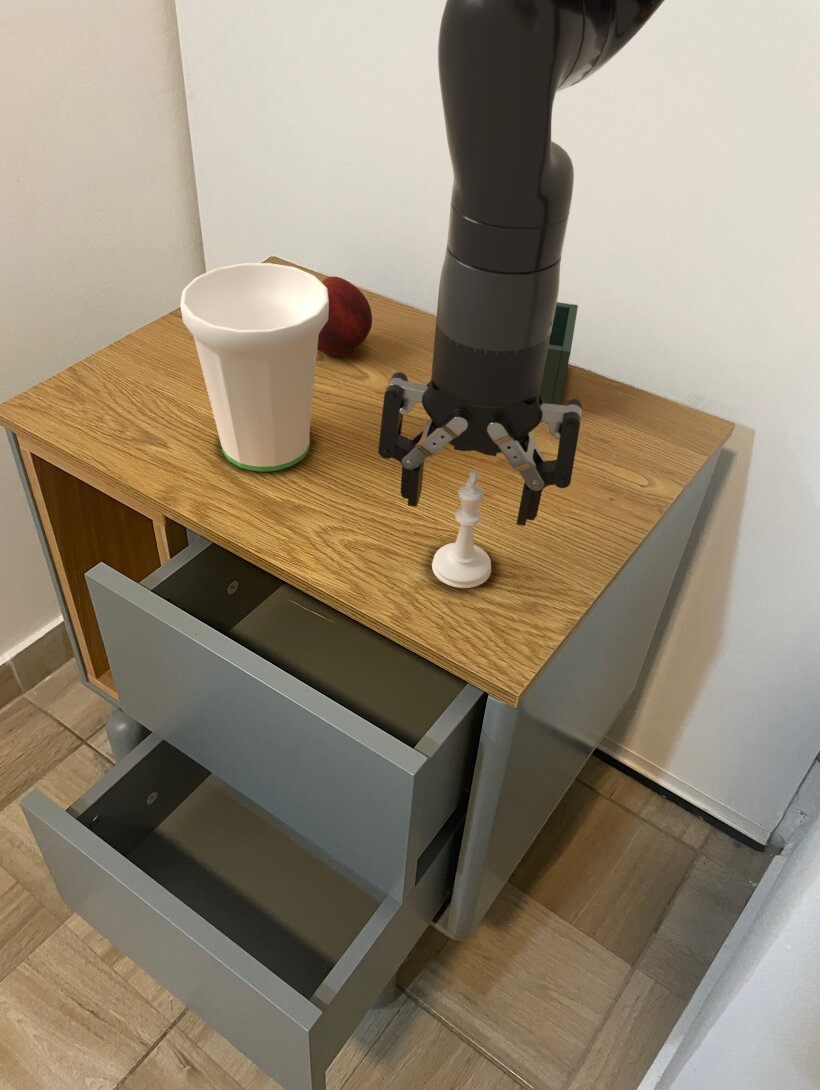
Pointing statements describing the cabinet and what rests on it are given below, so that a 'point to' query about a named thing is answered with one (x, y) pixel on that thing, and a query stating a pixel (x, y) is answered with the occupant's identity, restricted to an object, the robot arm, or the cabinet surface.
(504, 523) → the cabinet surface
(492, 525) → the cabinet surface
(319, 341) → the apple
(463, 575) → the chess piece
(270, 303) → the cup
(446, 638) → the cabinet surface
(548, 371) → the bin
